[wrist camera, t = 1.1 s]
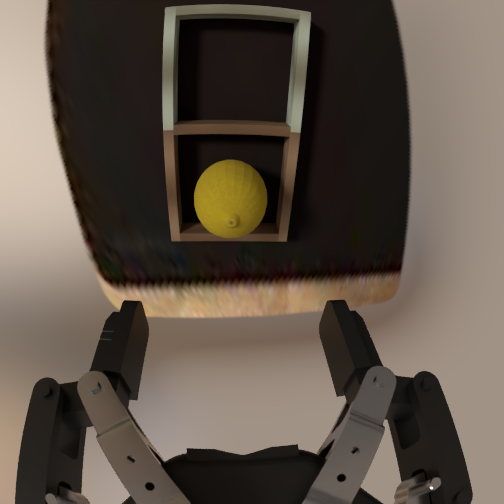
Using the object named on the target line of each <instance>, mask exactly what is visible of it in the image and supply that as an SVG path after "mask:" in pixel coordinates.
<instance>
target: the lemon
mask: <svg viewBox="0 0 504 504" xmlns="http://www.w3.org/2000/svg"><path fill="white" fill-rule="evenodd" d="M194 206H195V210H196V213H197V216H198V218H199V220H200V222H201V223H202V225H203V226H204V227H205V228H206V229H207V230H208V231H209V232H211V233H213V234H214V235H216V236H219V237H223V238H239V237H242V236H244V235H247V234H248V233H250V232H251V231H253V230H254V229H255V228H256V227H257V226H258V225H259V224H260V222H261V220H262V218H263V216H264V214H265V210H266V206H267V190H266V187H265V184H264V181H263V179H262V178H261V176H260V175H259V173H258V172H257V171H256V170H255V169H254V168H253V167H251V166H250V165H248V164H246V163H244V162H242V161H237V160H224V161H220V162H217V163H215V164H213V165H212V166H210V167H209V168H208V169H207V170H206V171H205V172H203V174H202V175H201V177H200V178H199V180H198V182H197V184H196V188H195V192H194Z"/></svg>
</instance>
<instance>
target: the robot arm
mask: <svg viewBox="0 0 504 504" xmlns="http://www.w3.org/2000/svg"><path fill="white" fill-rule="evenodd" d="M319 334H320V338H321V342H322V345H323V349H324V352H325V355H326V359H327V363H328V366H329V370H330V373H331V377H332V380H333V384H334V388H335V392H336V395H337V397H338V396H343V395H345V397H346V403H345V404H344V406H343V409H342V410H341V412H340V414H339V417H338V418H337V420H336V422H335V424H334V426H333V428H332V430H331V432H330V434H329V435H328V437H327V438H326V440H325V441H324V443H323V444H322V446H321V447H320V449H319V451H318V452H317V454H314V453H311V452H309V451H304V450H299V449H298V444H297V445H288V446H279V447H270V448H267V449H264V450H260V451H257V452H254V453H250V454H247V455H238V454H234V453H228V452H224V451H220V450H215V449H190V448H187V453H186V454H182V455H178V456H175V457H173V458H171V459H169V460H167V461H164V460H163V458H162V457H161V456H160V454H159V453H158V452H157V450H156V449H155V448H154V446H153V445H152V444H151V442H150V441H149V440H148V438H147V437H146V435H145V434H144V432H143V431H142V429H141V428H140V426H139V425H138V423H137V422H136V420H135V418H134V417H133V415H132V414H131V412H130V410H129V409H128V405H129V399H130V400H137V399H138V392H139V386H140V380H141V374H142V367H143V363H144V356H145V352H146V347H147V342H148V337H149V327H148V322H147V319H146V315H145V312H144V308H143V305H142V302H141V301H128V300H124V301H123V303H122V306H121V309H120V312H113V313H112V314H111V315H110V316H109V318H108V319H107V320H106V322H105V325H104V328H103V332H102V334H101V337H100V340H99V343H98V346H97V349H96V353H95V356H94V359H93V362H92V366H91V369H90V371H89V372H87V373H85V374H84V375H83V376H82V377H81V378H80V379H79V381H76V382H72V383H64V384H58V383H57V382H56V380H54V379H52V378H43V379H41V380H39V381H38V382H37V383H36V384H35V386H34V388H33V392H32V396H31V399H30V403H29V408H28V412H27V417H26V421H25V426H24V431H23V436H22V442H21V448H20V455H19V462H18V470H17V481H16V495H15V504H90V502H89V501H88V499H87V498H86V497H85V496H83V495H82V494H81V488H82V468H83V456H84V445H85V436H86V428H87V427H91V426H94V428H95V430H96V432H97V436H96V437H97V441H98V443H99V445H100V446H101V448H102V450H103V452H104V454H105V456H106V457H107V459H108V461H109V463H110V464H111V466H112V468H113V469H114V471H115V472H116V474H117V476H118V477H119V479H120V480H121V482H122V483H123V485H124V486H125V488H126V489H127V490H128V492H129V494H130V495H131V496H130V497H129V498H128V499H126V500H125V501H124V502H123V503H122V504H383V503H381V502H380V501H378V500H377V499H376V498H374V497H373V496H372V495H370V494H369V493H367V492H366V491H364V490H363V489H362V488H361V487H360V486H361V484H362V482H363V480H364V478H365V476H366V474H367V472H368V469H369V467H370V465H371V463H372V461H373V459H374V456H375V454H376V451H377V449H378V447H379V444H380V442H381V439H382V437H383V434H384V431H385V427H384V426H383V422H384V419H387V420H388V423H389V427H390V431H391V435H392V439H393V443H394V448H395V452H396V457H397V461H398V465H399V471H400V476H401V481H402V483H401V484H400V485H399V486H398V487H397V489H396V492H395V496H394V498H395V503H394V504H471V501H472V497H473V493H472V488H471V483H470V479H469V474H468V471H467V466H466V462H465V458H464V455H463V452H462V448H461V444H460V441H459V438H458V435H457V431H456V429H455V425H454V422H453V419H452V416H451V413H450V410H449V407H448V404H447V402H446V399H445V396H444V394H443V391H442V388H441V386H440V383H439V381H438V379H437V378H436V376H435V375H433V374H432V373H430V372H427V371H422V372H419V373H418V374H417V375H416V376H415V377H414V378H410V377H401V376H396V375H394V373H393V372H392V371H391V370H390V369H388V368H386V367H384V366H383V365H382V363H381V361H380V358H379V356H378V353H377V351H376V348H375V346H374V343H373V341H372V339H371V337H370V334H369V332H368V330H367V327H366V325H365V322H364V321H363V318H362V317H361V316H360V315H359V314H358V313H357V312H356V311H350V310H349V308H348V305H347V303H346V301H345V300H329V301H327V302H326V305H325V308H324V312H323V315H322V318H321V321H320V324H319Z"/></svg>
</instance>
